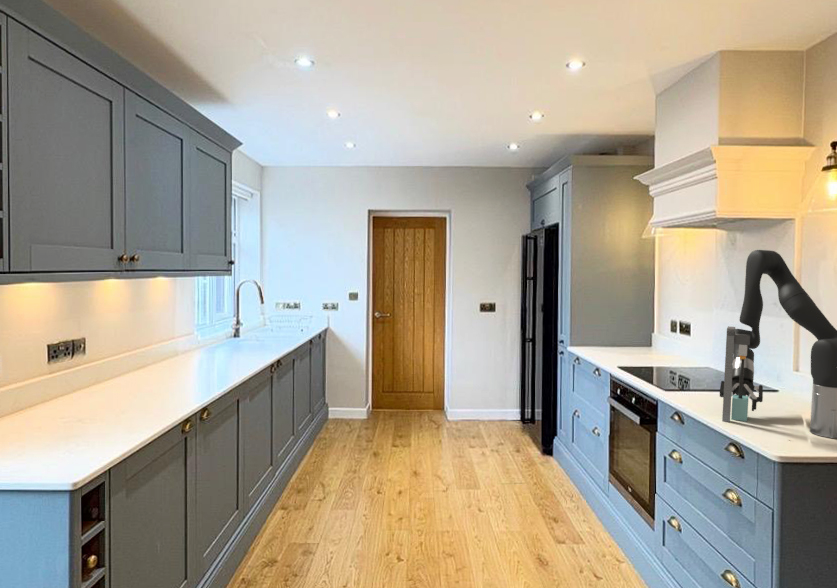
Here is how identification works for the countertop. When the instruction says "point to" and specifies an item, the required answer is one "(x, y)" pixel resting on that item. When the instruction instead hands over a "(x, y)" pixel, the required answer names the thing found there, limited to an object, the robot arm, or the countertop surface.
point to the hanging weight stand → (730, 341)
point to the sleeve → (739, 408)
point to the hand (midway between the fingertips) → (739, 408)
